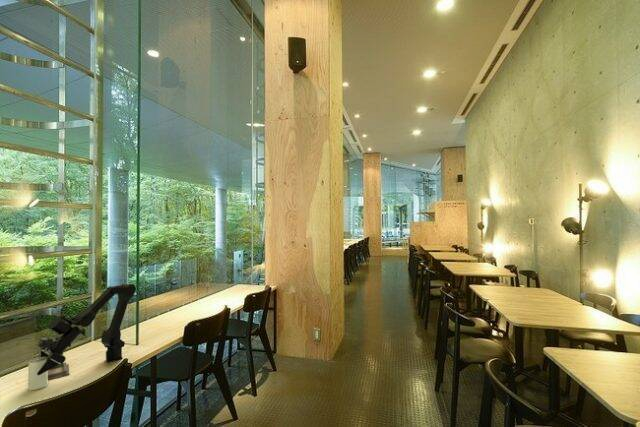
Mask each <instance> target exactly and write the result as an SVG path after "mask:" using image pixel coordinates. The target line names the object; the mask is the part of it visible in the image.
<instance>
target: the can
mask: <svg viewBox="0 0 640 427" xmlns="http://www.w3.org/2000/svg"><path fill="white" fill-rule="evenodd" d="M38 357H39V356H38ZM38 357H35V358H33V359H31V360H29V363H28V365H27V366H28V367H27V368H28V373H27V374H28V377H27V378H28V379H27V381H28V382H27V384H28V385H27V387H28V388H27V389H28V390H29V391H37V390H42V389H43V388H45V387H47V386H48V384H49V380H48V371H46V372H44V373H42V374H40V375H37V373H38V371H39V370H40V369H41V367H42V366H43V365H44V364H45V362H46V357H39V358H38Z"/></svg>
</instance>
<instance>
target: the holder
mask: <svg viewBox="0 0 640 427" xmlns="http://www.w3.org/2000/svg"><path fill="white" fill-rule="evenodd" d="M59 364H60V363H59ZM67 376H70V365H69V363H67V362H65V361H64V362H63V364H60V365H57V366H55V367H53V368H51V369H50V370H48V381H51V380H55V379H60V378H62V377H67Z"/></svg>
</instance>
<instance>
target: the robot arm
mask: <svg viewBox="0 0 640 427" xmlns="http://www.w3.org/2000/svg"><path fill="white" fill-rule="evenodd" d="M136 291H137V287H136V285H135V284H132V283H122V284H120V285H114V286H108V287H106V289H105V290H104V291H103V292H102V293H101V295H99V296H98V297H97V298H96V299H95V301H93V302H92V303H91V304H90V305H89V306H87V308H84V309H83V310H81V311H80V312H78V313H77V314H75V315H74V317H71V318H69V319H68V318H67V317H66V316H64V315H63V314H61V315H59V316H58V317H56V318H54V319H53V320H51V321H50V322H49V324H48V325H47V329H48V330H50V331H51V332H54V333H56V334H57V335H60V336H57V337H55V338H54V339H53V338H49V337H39V340H38V341H37V343H36V346H37V347H38V348H39V355H38V357H37V358H39V357H46V362H45V364H44V365H43V366H42V367H41V369H40V370H39V371H38V373H37V375H40V374H42V373H44V372H46V371H48V370H50V369H51V368H53V367H55V366H57V365H60V364H63V363H65V361H66V360H67V359H66V358H67V357H66V356H65V355H64V354H65V353H64V352H65V351H66V350H67V349H68V347H69V348H70V347H71V346H72V344H73V342H74V341H75V340H76V339H77V338H78V337H79V336H80V335H83V336H85V335H86V329H85V328H87V327H88V326H90V325H91V324H92V323H93V322H94V320H96V316H97V314H98V313H99V311H100V310H101V309H102V308H103V307H104V306H106V305H107V303H108V302H109V301H110V300H111V299H112V298H113V297H114V296H115V295H117V297H118V300H117V302H116V306H115V309H114V313H113V315H112V319H111V321H110V324H109V327H108V328H107V329H106V330H103V331H102V334H101V337H100V342H101V344H102V345H103V346H104V348H106V350H105V360H106V361H107V362H108V363H110V362H115V361H119V360H122V359H123V356H122V355H123V350H122V349H123V348H124V347H125V344H126V342H125V340H122V339H121V337H122V333H121V326H122V323H123V319H124V317H125V313H126V310H127V308H128V304H129V302H130V300H132V298H133V297H134V296H135V293H136ZM81 327H82V328H81Z"/></svg>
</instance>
